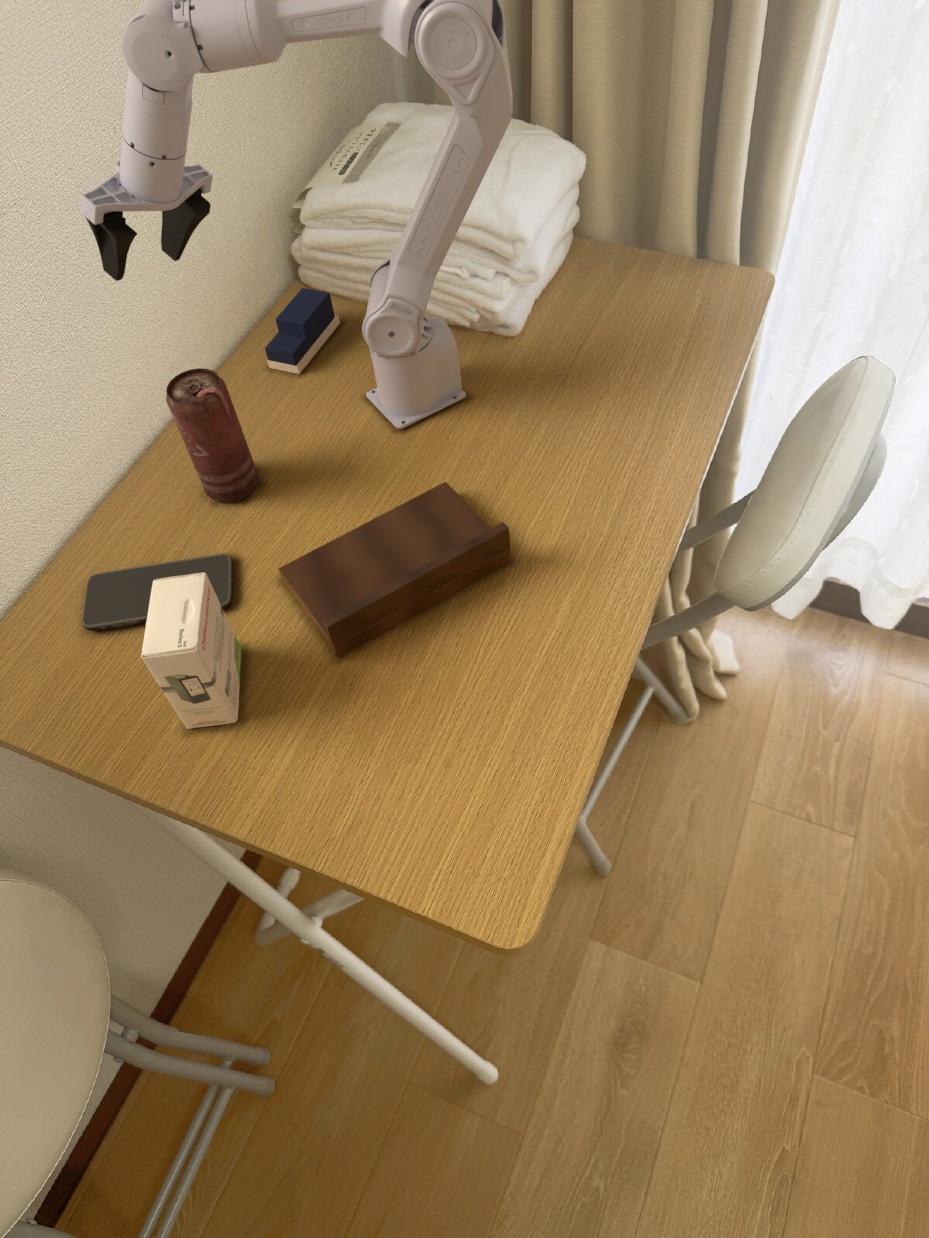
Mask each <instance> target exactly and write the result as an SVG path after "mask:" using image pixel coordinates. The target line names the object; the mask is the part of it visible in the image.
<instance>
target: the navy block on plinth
mask: <svg viewBox="0 0 929 1238" xmlns="http://www.w3.org/2000/svg"><path fill="white" fill-rule="evenodd" d="M331 297H332V296H331V293H330V292H328V291H323V290H317V289H311V288H306V287H301V289H300V290H299V291H298V292H297V294H295V296H293V298H292V299H291V300H290V301H289V302H288V303H287V305H286V306H285V307H284V308H283V309H282V311H281V312H280V313H279V314H278V315H277V317H275V324H276V326H277V330H278V332H277V333H276V334H275V336H273V338H272V339H271V340H270V341H269V343H267V344H266V346H265V347H264V351H265V354H266V357H267V360H266V361H267V364H268V368H269V369H273V370H277V371H282V372H287V373H292V374H297V375H301V373H302V372H303V371H304V369H305V368H306V367H307V366H308V364H310V362H311V361H312V359H313V358H314V356H315V355H316V354H317V353H318V352H319V351H320V349H321V348H322V347H323V345H324V344H325V343H326V342H327V340H328V339H329V338H330V336H331V335H332V334H333V333H334V332H335V330H336V329H337V328H338V327H339V325H340V323H341V322H340V321H341V320H340V316H339V315H338V314H335V311H334V310H335V309H334V307H333V306H334V305H333V302H332V298H331Z"/></svg>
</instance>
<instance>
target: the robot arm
mask: <svg viewBox="0 0 929 1238" xmlns="http://www.w3.org/2000/svg"><path fill="white" fill-rule="evenodd" d="M505 25H506V23H505V13H504V8H503V6H502V4H501V0H143V2H142V3H141V4H140V6H139V8H137V10H136V11H135V13H134V15H133V16H132V18H131V20H130V21H129V22H128V24H127V26H126V28H125V30H124V34H123V37H122V44H121V45H122V47H121V48H122V55H123V57H124V58H123V59H124V61H125V62H126V65H127V81H126V84H125V91H124V92H125V93H124V107H123V120H122V133H121V146H120V147H121V148H120V160H118V161H116V162H115V164H114V165H115V167H114V170H115V172H116V173H114V174H113V175H112V176H111V177H110V178H108V179H106V180H105V181H104V182H103V183H101V184H100V185H98V186H97V187H96V188H94V189H92V190H91V191H88V192H85V193H82V194H81V195H80V197H81V198H80V213H81V214H82V216H83V217H84V218H85V220H86V222H87V223H88V225H89V228H90V229H91V231H92V233H93V236H94V238H95V241H96V244H97V248H98V252H99V255H100V260H101V264H102V269H103V271H104V272H105V273H106V274H107V275H109V276H110V277H111V278H112V279H113V280H114V281H115V282H116V281H117V282H118V281H122V280H123V278H124V276H125V272H126V265H127V258H128V253H129V251H130V248H131V246H132V243H133V241H134V240H135V238H136V236H137V235H138V232H136V231H135V230H134V229H133V228H132V227H131V226H130V225H129V224H128V223H127V218H126V217H124V212H161V217H162V218H161V222H162V223H161V233H160V243H161V244H160V247H161V251H162V252H163V253H164V254H165V255H167V256H168V257H169V258H170V259H171V260H173V261H174V262H177V261H179V260H180V259H181V257H182V255H183V253H184V251H185V249H186V247H187V244H188V242H189V241H190V238H191V237H192V235H193V234H194V232H195V231H196V229H197V228H198V226H199V225H200V224H201V222H202V221H203V220H204V219H205V218H206V217H208V215H210V211H211V203H210V201H209V200H207V199H206V198H205V197H204V196H202V195H203V194H204V195H205V194H208V193H211V190H212V184H213V177H214V175H213V174H212V173H211V172H209V171H208V170H207V169H206V168H205V167H204V166H203V165H201V164H200V163H199V164H194V165H186V156H187V148H188V140H189V132H190V125H191V117H192V110H193V97H192V93H193V86H194V79H195V75H196V74H214V73H219V72H225V71H231V70H238V69H243V68H248V67H249V68H250V67H256V66H261V65H267V64H273V63H277V62H278V61H279V60H280V59H281V57H282V55H283V53H284V50H285V48H286V46H287V45H288V44H295V43H304V42H312V41H313V42H314V41H320V40H321V41H322V40H323V41H324V40H330V39H340V38H349V37H350V38H351V37H359V36H367V35H377V36H379V37H380V38H381V39H382V40H384V41H385V42H386V43H387V44H388V45H390V47H391V48H393V49H394V50H395V51H396V52H397V53H398V54H400V55H401V56H402V57H404V58H408V57H409V51H410V47H411V44H414V49H415V53H416V55H417V58H418V60H419V62H420V64H421V65H422V67H423V68H424V70H425V71H426V72H427V74H428V75H429V76H430V77H431V78H432V79H433V80H434V81H435V83H437V84H438V86H440V88H441V89H442V90H443V91H444V92H445V93H446V94H447V96H448V98H449V101H450V102H451V104H452V106H453V109H454V110H455V111H454V113H453V115H452V117H451V120H450V123H449V125H448V127H447V130H446V132H445V134H444V137H443V139H442V141H441V143H440V147H439V148H438V150H437V153H436V155H435V157H434V160H433V162H432V164H431V166H430V169H429V172H428V174H427V177H426V179H425V181H424V183H423V185H422V188H421V190H420V192H419V194H418V197H417V199H416V202H415V204H414V206H413V209H412V211H411V213H410V216H409V218H408V220H407V223H406V225H405V227H404V230H403V232H402V234H401V236H400V239H399V241H398V243H396V244H395V245H393V247H392V249H391V252H390V254H389V256H388V257H387V258H386V260H384V261H383V262H381V263H380V264H379V265H378V266H376V268H375V269H374V270H373V272H372V275H371V276H370V282H369V283H370V285H369V288H370V290H369V296H368V301H367V307H366V312H365V317H364V318H363V321H362V326H361V332H362V337H363V339H364V341H365V343H366V344H367V347H368V348H369V353H370V358H371V362H372V367H373V373H374V378H375V383H376V387H374V388H373V389H371V390H369V391H367V392H366V393H365V396H366V398H367V399H368V401H370V403H372V404H373V406H374V407H375V408H376V409H377V410H378V411H379V412H380V413H381V414H382V415H383V416H384V417H385V418H386V419H387V420H388V421H389V422H390V423H391V424H392V426H393V427H395V429H396V430H403V429H405V428H407V427H409V426H411V425H413V424H415V423H417V422H419V421H421V420H424V419H425V418H427V417H429V416H431V415H433V414H436V413H438V412H439V411H441V410H443V409H445V408H447V407H450V406H452V405H453V404H456V403H457V402H459V401H462V400H464V399H465V398H466V397H467V394H466V392H465V390H463V385H462V375H461V365H460V356H459V348H458V345H457V341H456V338H455V336H454V334H453V332H452V330H451V329H450V327H449V325H448V324H447V323H446V322H445V320H443V318H441V317H440V316H437V315H434V316H430V317H428V316H427V315H426V314H425V312H426V310H427V307H428V305H429V302H430V297H431V293H432V291H433V288H434V283H435V280H436V278H437V275H438V273H439V271H440V270H441V267H442V265H443V263H444V260H445V259H446V257H447V255H448V252H449V250H450V249H451V246H452V244H453V243H454V240H455V238H456V235H457V233H458V232H459V229H460V227H461V226H462V223H463V221H464V219H465V217H466V216H467V214H468V211H469V208H470V207H471V204H472V203H473V200H474V199H475V196H476V194H477V192H478V190H479V189H480V186H481V184H482V182H483V180H484V177H485V176H486V174H487V171H488V169H489V166H490V165H491V163H492V161H493V159H494V157H495V155H496V152H497V150H498V148H499V146H500V144H501V142H502V140H503V138H504V136H505V134H506V131H508V130H507V129H508V127H509V125H510V123H511V120H512V116H513V101H514V100H513V99H514V97H513V95H514V94H513V87H512V78H511V69H510V61H509V53H508V45H507V36H506V26H505Z"/></svg>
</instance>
